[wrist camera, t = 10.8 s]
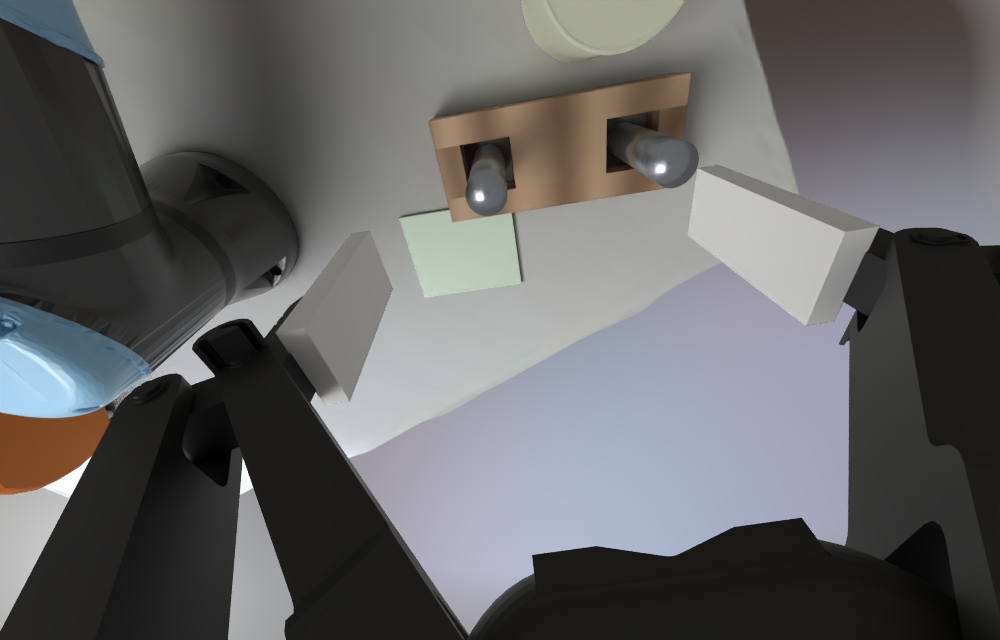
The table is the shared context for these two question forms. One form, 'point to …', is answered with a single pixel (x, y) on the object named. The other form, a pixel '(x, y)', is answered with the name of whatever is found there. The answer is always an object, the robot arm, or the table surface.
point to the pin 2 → (654, 154)
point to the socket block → (559, 143)
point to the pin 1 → (487, 182)
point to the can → (595, 25)
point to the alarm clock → (46, 448)
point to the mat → (461, 252)
